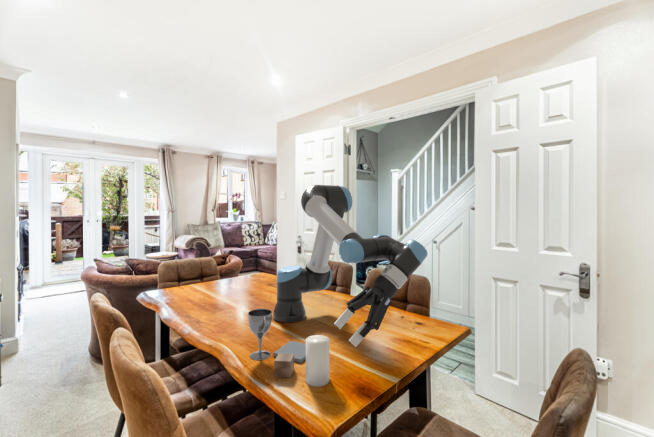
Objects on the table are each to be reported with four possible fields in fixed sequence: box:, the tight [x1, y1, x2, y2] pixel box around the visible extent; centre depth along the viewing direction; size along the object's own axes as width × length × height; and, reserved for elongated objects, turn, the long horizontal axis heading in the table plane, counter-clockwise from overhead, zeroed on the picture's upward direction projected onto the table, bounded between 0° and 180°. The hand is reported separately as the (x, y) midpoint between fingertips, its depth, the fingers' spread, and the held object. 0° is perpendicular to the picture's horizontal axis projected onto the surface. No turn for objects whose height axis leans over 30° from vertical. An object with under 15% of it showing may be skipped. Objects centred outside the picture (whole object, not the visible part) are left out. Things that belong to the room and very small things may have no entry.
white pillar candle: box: [305, 334, 330, 388], centre depth 91 cm, size 7×7×12 cm
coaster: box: [273, 340, 306, 364], centre depth 108 cm, size 11×11×1 cm
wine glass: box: [247, 308, 273, 361], centre depth 106 cm, size 8×8×15 cm
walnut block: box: [273, 353, 295, 379], centre depth 95 cm, size 5×5×5 cm
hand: (344, 334), depth 93 cm, fingers open, 13 cm apart
